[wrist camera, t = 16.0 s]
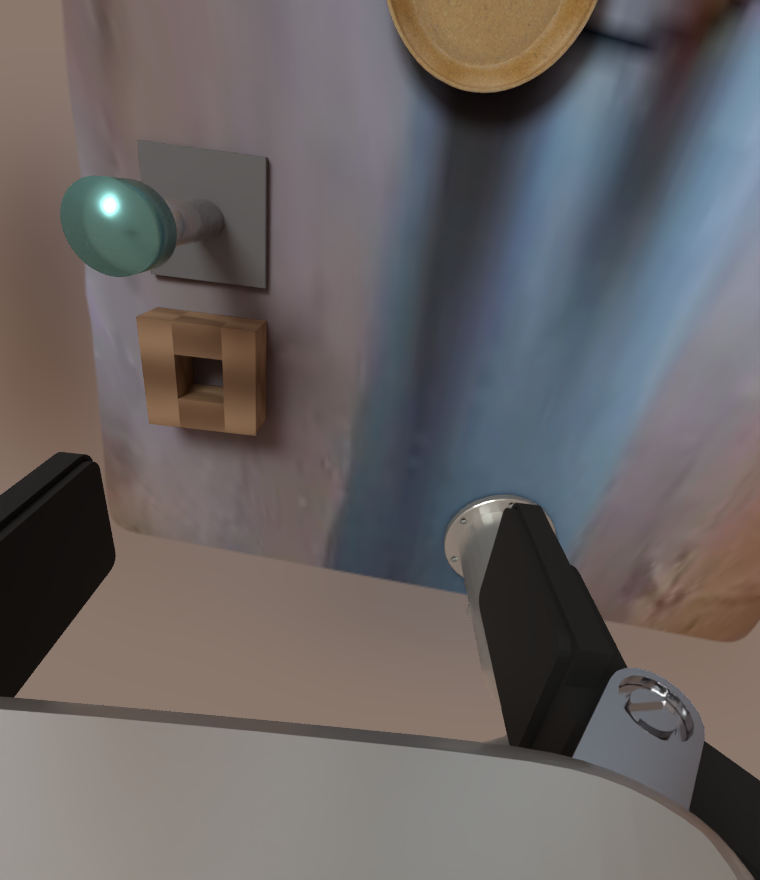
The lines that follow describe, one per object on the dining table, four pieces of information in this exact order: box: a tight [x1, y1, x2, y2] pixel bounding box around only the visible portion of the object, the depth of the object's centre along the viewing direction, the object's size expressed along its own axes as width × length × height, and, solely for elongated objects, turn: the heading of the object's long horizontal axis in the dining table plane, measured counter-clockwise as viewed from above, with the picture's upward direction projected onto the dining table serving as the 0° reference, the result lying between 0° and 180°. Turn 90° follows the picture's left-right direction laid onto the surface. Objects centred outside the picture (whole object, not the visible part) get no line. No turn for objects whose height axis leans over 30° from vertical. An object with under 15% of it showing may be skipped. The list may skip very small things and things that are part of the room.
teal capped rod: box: [60, 176, 224, 277], centre depth 32 cm, size 5×5×15 cm
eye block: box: [136, 307, 267, 436], centre depth 43 cm, size 10×10×4 cm
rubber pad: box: [137, 140, 268, 288], centre depth 39 cm, size 10×10×1 cm
